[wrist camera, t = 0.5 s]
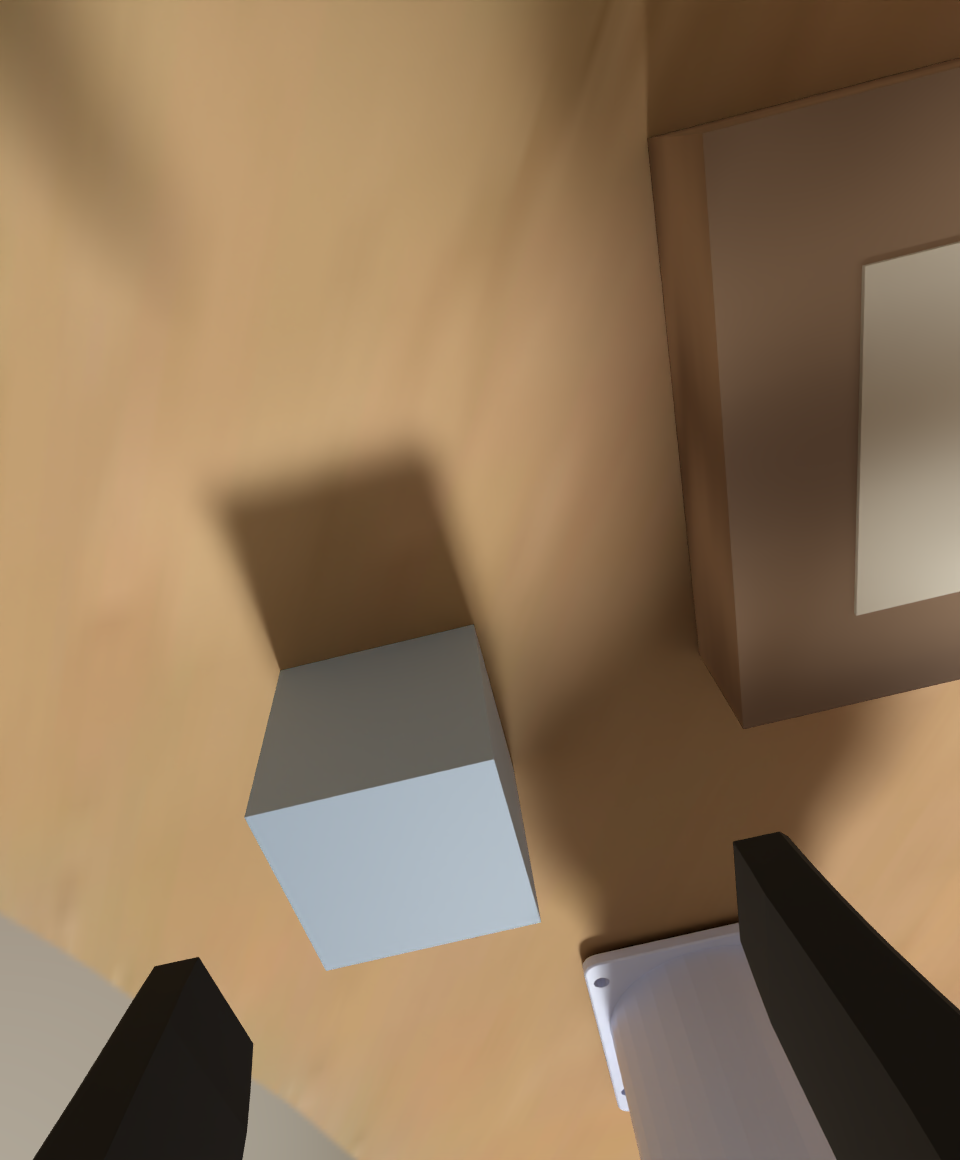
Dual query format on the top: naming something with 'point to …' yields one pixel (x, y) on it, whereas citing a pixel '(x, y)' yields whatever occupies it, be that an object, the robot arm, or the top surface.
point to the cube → (392, 801)
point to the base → (819, 389)
